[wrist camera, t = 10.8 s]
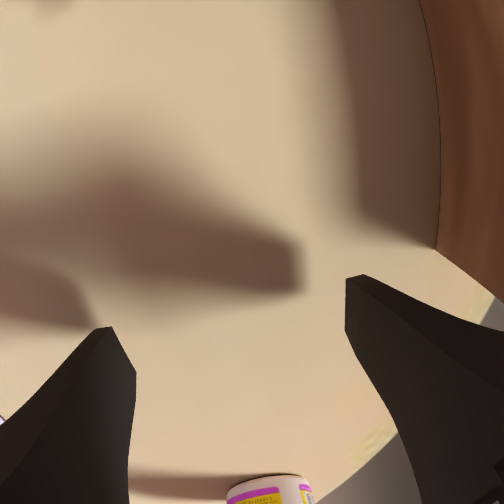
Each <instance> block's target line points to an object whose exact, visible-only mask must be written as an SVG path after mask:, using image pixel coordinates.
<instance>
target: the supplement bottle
mask: <svg viewBox="0 0 504 504" xmlns="http://www.w3.org/2000/svg"><path fill="white" fill-rule="evenodd" d="M227 504H315V501H314V497H313V494H312V491H311V488H310V485H309V483H308V481H307V480H306V479H304V478H302V477H300V476H293V475H281V476H269V477H263V478H258V479H253V480H250V481H246V482H244V483H241V484H239V485H237V486H235V487H233V488H232V489H230V491H229V492H228V493H227Z"/></svg>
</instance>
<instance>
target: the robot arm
mask: <svg viewBox="0 0 504 504" xmlns="http://www.w3.org/2000/svg"><path fill="white" fill-rule="evenodd" d="M345 332H346V335H347V337H348V339H349V342H350V344H351V346H352V348H353V351H354V353H355V355H356V357H357V359H358V360H359V362H360V364H361V365H362V367H363V369H364V370H365V372H366V374H367V375H368V377H369V379H370V380H371V382H372V383H373V385H374V387H375V388H376V390H377V392H378V393H379V395H380V397H381V398H382V400H383V402H384V403H385V405H386V407H387V409H388V410H389V412H390V414H391V416H392V418H393V420H394V422H395V425H396V427H397V430H398V432H399V434H400V437H401V439H402V441H403V444H404V446H405V449H406V452H407V455H408V457H409V460H410V463H411V465H412V469H413V472H414V475H415V478H416V482H417V485H418V488H419V492H420V496H421V500H422V504H504V332H502V331H498V330H494V329H491V328H487V327H484V326H481V325H478V324H475V323H472V322H469V321H466V320H463V319H460V318H458V317H455V316H452V315H450V314H448V313H445V312H443V311H441V310H438V309H436V308H434V307H432V306H429V305H427V304H425V303H423V302H421V301H419V300H416V299H414V298H412V297H410V296H408V295H406V294H404V293H402V292H400V291H398V290H396V289H394V288H392V287H390V286H388V285H386V284H384V283H382V282H380V281H378V280H376V279H374V278H372V277H369V276H367V275H364V274H362V275H358V276H355V277H351V278H347V279H346V297H345ZM135 402H136V371H135V369H134V367H133V365H132V364H131V362H130V360H129V358H128V357H127V355H126V353H125V351H124V349H123V347H122V346H121V344H120V342H119V340H118V338H117V336H116V334H115V332H114V330H113V328H112V326H111V327H105V328H98V329H95V330H93V331H92V332H91V333H90V334H89V335H88V336H87V337H86V338H85V339H84V340H83V341H82V342H81V343H80V344H79V346H78V347H77V348H76V349H75V350H74V351H73V352H72V353H71V354H70V355H69V357H68V358H67V359H66V360H65V361H64V362H63V363H62V364H61V366H60V367H59V368H58V369H57V370H56V371H55V372H54V374H53V375H52V376H51V377H50V378H49V379H48V380H47V381H46V382H45V383H44V384H43V385H42V386H41V387H40V389H39V390H38V391H37V392H36V393H35V394H34V395H33V396H32V397H31V398H30V399H29V400H28V401H27V402H26V403H25V404H24V405H23V406H22V407H21V408H20V409H19V410H18V411H16V412H15V413H14V414H13V415H12V416H11V417H10V418H9V419H7V420H6V421H4V420H3V419H2V418H1V417H0V504H129V494H128V455H129V446H130V438H131V431H132V423H133V416H134V409H135Z"/></svg>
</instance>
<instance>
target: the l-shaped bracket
mask: <svg viewBox="0 0 504 504" xmlns="http://www.w3.org/2000/svg"><path fill="white" fill-rule="evenodd" d="M419 1H420V5H421V8H422V12H423V16H424V20H425V24H426V29H427V33H428V38H429V43H430V48H431V53H432V59H433V65H434V72H435V79H436V87H437V95H438V106H439V118H440V135H441V195H440V213H439V225H438V236H437V245H436V251H437V252H439V253H440V254H441V255H443V256H444V257H446V258H447V259H448V260H450V261H451V262H452V263H454V264H455V265H456V266H458V267H459V268H460V269H462V270H463V271H464V272H466V273H467V274H468V275H470V276H471V277H472V278H473V279H475V280H476V281H477V282H478V283H480V284H481V285H482V286H483V287H485V288H486V289H487V290H488V291H490V292H491V293H492V294H493V295H494V296H496V297H497V298H498V299H499V300H500V301H502V302H503V303H504V0H419Z"/></svg>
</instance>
